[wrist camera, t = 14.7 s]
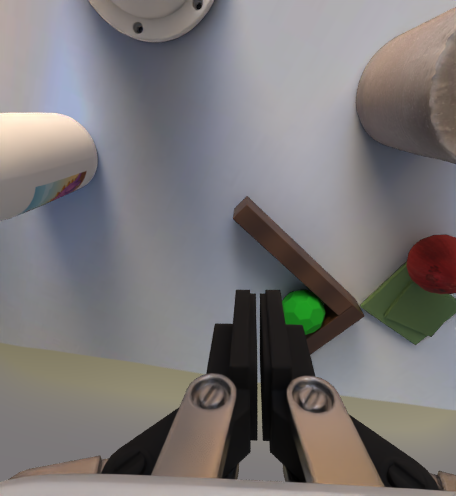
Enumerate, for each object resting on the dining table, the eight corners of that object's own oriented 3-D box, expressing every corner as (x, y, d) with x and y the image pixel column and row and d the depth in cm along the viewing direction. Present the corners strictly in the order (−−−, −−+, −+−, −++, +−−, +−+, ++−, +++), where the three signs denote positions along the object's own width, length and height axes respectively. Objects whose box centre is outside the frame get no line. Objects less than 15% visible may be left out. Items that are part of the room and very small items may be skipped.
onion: (418, 282, 36) (460, 325, 29) (383, 253, 35) (417, 290, 28) (462, 245, 34) (519, 282, 27) (426, 213, 33) (476, 242, 26)
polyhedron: (300, 274, 37) (307, 296, 32) (328, 299, 38) (339, 324, 34) (270, 300, 39) (272, 325, 34) (298, 324, 40) (303, 350, 35)
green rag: (359, 305, 38) (362, 310, 37) (406, 261, 35) (410, 266, 34) (413, 342, 39) (417, 348, 38) (461, 303, 37) (467, 308, 36)
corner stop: (171, 272, 38) (163, 287, 35) (247, 195, 34) (246, 204, 30) (275, 357, 42) (277, 378, 39) (355, 298, 38) (365, 316, 34)
